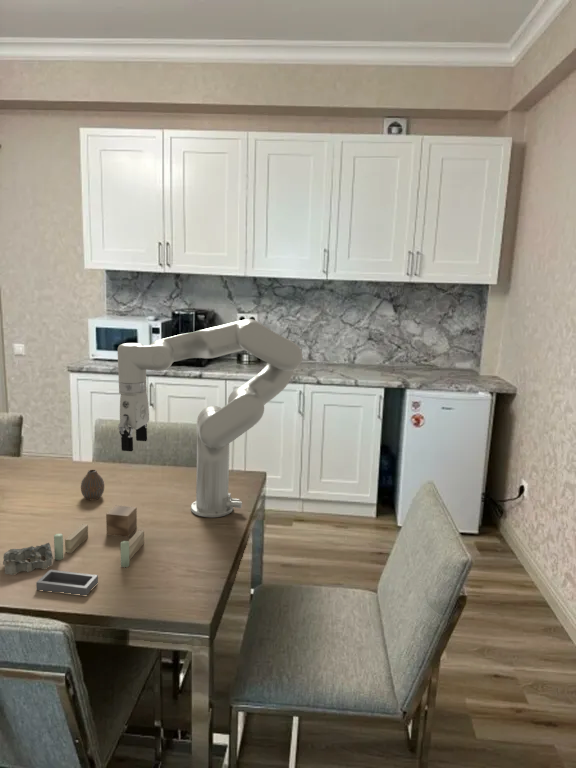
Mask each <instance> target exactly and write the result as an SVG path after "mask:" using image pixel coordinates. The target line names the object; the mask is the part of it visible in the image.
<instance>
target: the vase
mask: <svg viewBox="0 0 576 768" xmlns="http://www.w3.org/2000/svg"><path fill="white" fill-rule="evenodd" d="M80 492H81V494H82V496H83V497H84V499H86V500H88V501H95V500H98V499H100V498H101V497H102V496H103V494H104V492H105V481H104V479H103V477H102V476H101V475H100V474H99V473H98V471H97V470H96V469H90V470H88V471H87V473H86V475H85V476H84V477H83V478H82V481H81V483H80Z"/></svg>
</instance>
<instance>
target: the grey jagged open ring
mask: <svg viewBox="0 0 576 768" xmlns="http://www.w3.org/2000/svg"><path fill="white" fill-rule="evenodd" d="M52 552H53V551H52V547H51V544H50V542H46V543H44V544H41V545H36V546H34V545H31V546H29V547H23V548H10V549H9V550H6V551H5V552H4V553H3V562H2V565H4V574H5V575H10V576H15V575H14V574H16V573H17V574H18V573H20V572H26V571H27V573H30V572H33V571H34V570H36V569H41V570H46V568H47V569H48V568H49V567H51V566H53V558H54V557H53V553H52ZM42 557H45V560H43V559H42ZM28 558H30V559H28ZM28 560H30V562H29V561H28ZM48 566H49V567H48ZM35 568H36V569H35ZM19 571H20V572H19ZM29 571H30V572H29ZM17 574H16V575H17Z"/></svg>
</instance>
